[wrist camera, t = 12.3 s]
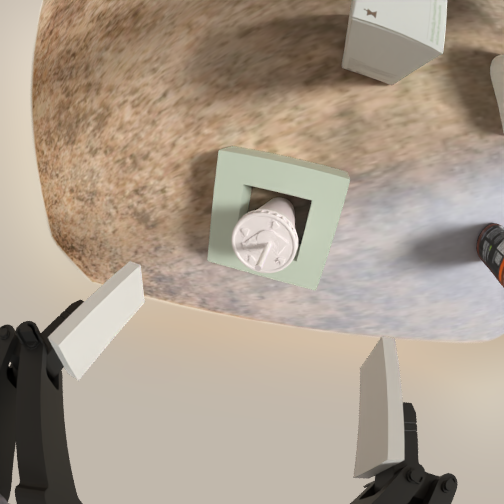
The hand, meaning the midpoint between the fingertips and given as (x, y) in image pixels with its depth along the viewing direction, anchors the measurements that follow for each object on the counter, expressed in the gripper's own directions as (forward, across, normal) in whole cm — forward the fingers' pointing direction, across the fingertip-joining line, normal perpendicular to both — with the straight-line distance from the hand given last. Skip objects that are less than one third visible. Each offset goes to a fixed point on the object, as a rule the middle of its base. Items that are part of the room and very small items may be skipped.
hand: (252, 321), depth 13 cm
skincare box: (+23, +5, +20) cm, 31 cm away
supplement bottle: (+23, +29, +2) cm, 37 cm away
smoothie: (+22, -2, -3) cm, 23 cm away
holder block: (+22, -2, -3) cm, 22 cm away
